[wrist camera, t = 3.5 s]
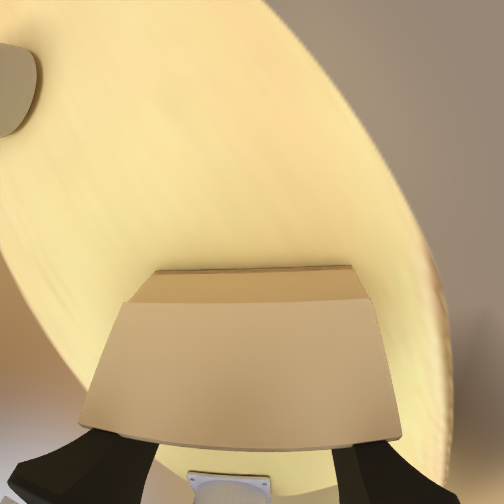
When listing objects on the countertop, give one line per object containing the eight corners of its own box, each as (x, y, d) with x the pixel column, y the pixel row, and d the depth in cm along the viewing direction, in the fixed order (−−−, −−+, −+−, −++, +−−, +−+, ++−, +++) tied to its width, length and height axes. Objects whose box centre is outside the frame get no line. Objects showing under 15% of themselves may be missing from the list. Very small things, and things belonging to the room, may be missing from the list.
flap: (398, 439, 8) (402, 435, 7) (83, 427, 9) (77, 422, 8) (368, 304, 12) (370, 298, 12) (126, 308, 13) (123, 302, 13)
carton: (343, 353, 19) (356, 403, 14) (172, 354, 20) (151, 401, 15) (351, 265, 17) (372, 303, 13) (155, 270, 18) (123, 307, 13)
